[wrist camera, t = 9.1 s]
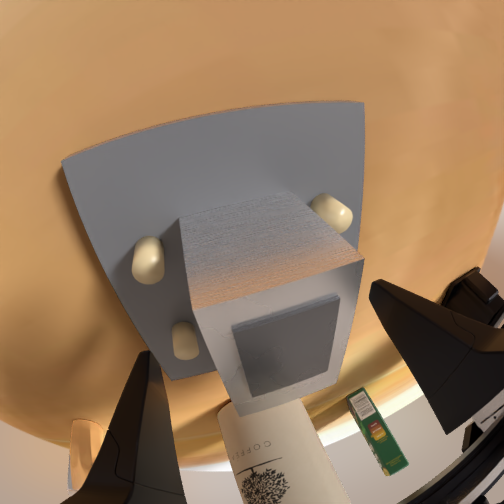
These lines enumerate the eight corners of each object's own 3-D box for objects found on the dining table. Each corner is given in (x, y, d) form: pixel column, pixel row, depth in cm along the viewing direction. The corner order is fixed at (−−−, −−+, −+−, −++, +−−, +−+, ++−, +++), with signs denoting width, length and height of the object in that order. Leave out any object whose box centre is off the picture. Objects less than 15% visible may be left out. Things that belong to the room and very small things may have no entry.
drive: (294, 310, 15) (337, 385, 11) (215, 334, 14) (240, 420, 10) (290, 191, 11) (367, 261, 7) (178, 217, 10) (193, 314, 6)
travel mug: (305, 398, 25) (374, 535, 10) (240, 427, 25) (292, 562, 11) (281, 373, 20) (371, 560, 6) (199, 409, 20) (259, 587, 6)
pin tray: (337, 317, 18) (355, 342, 16) (170, 368, 16) (174, 400, 14) (350, 100, 10) (387, 106, 8) (69, 155, 8) (44, 172, 6)
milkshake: (101, 437, 20) (110, 517, 12) (59, 421, 17) (62, 508, 9) (123, 429, 20) (136, 519, 12) (77, 412, 17) (82, 512, 9)
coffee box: (344, 396, 29) (389, 478, 18) (363, 385, 29) (412, 464, 18) (348, 410, 34) (385, 477, 23) (364, 401, 34) (403, 466, 23)
